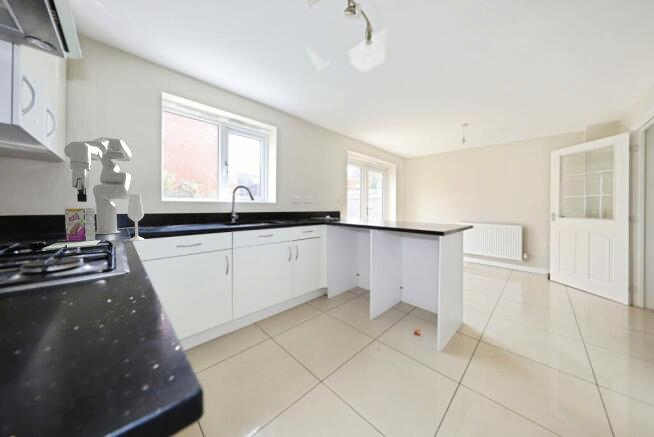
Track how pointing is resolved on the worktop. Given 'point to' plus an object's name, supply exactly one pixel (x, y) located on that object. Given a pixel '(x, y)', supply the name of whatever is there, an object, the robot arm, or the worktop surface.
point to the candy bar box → (80, 224)
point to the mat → (73, 244)
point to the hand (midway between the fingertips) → (82, 201)
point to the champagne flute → (135, 212)
